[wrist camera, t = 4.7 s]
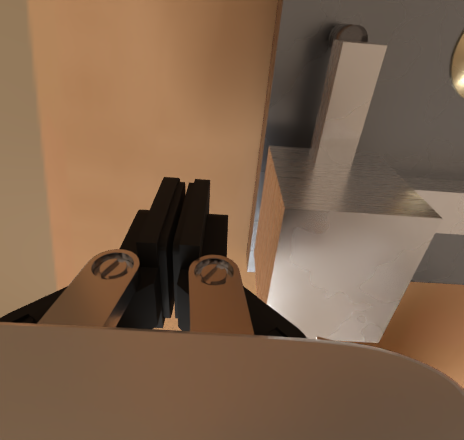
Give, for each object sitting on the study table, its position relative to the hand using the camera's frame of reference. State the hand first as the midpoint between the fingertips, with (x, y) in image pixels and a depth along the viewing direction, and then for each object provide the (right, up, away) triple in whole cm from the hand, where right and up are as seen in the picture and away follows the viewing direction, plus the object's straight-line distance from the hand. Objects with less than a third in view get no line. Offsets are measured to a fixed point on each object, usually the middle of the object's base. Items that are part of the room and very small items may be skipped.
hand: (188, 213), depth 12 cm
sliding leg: (+5, +2, +1) cm, 6 cm away
